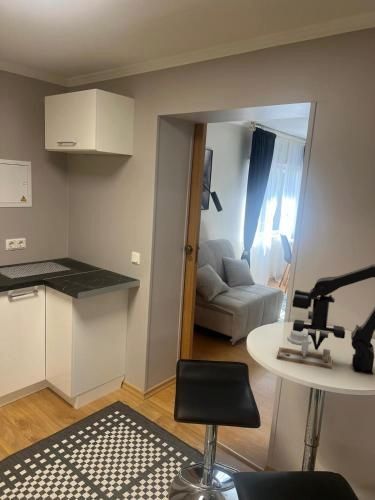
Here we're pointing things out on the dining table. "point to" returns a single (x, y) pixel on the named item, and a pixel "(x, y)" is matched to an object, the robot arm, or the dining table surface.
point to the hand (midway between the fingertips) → (316, 349)
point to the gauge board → (306, 357)
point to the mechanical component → (298, 337)
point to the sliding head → (304, 348)
